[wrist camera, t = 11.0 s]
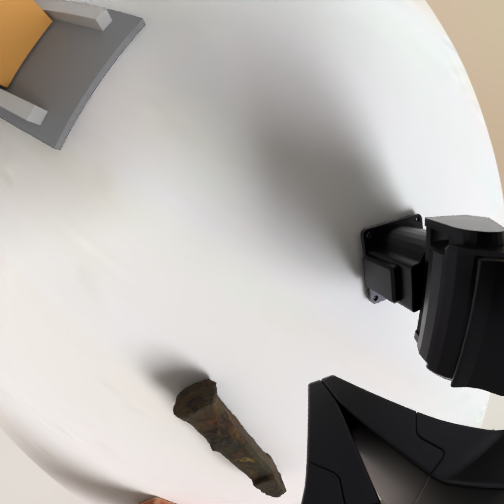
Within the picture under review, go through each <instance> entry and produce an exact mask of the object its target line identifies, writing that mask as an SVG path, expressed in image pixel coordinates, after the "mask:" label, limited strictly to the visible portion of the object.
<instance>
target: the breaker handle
mask: <svg viewBox="0 0 504 504" xmlns="http://www.w3.org/2000/svg"><path fill="white" fill-rule="evenodd" d="M52 22H53V21H52V20H51V19H50V17H49V16H48V15H47V14H46V13H45V12H44V11H43V10H42V9H41V8H40V7H39V6H38V4H37V3H36V2H35V1H34V0H0V85H2V86H4V87H6V88H8V86H9V84H10V82H11V81H12V79H13V77H14V76H15V74H16V72H17V71H18V69H19V67H20V66H21V64H22V63H23V61H24V60H25V58H26V57H27V55H28V54H29V52H30V51H31V49H32V48H33V47H34V45H35V44H36V42H37V41H38V40H39V38H40V37H41V36H42V34H43V33H44V32H45V31H46V29H47V28H48V27H49V25H50V24H51V23H52Z"/></svg>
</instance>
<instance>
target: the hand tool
mask: <svg viewBox="0 0 504 504" xmlns="http://www.w3.org/2000/svg"><path fill="white" fill-rule="evenodd" d="M173 412H174V415H176V416H177V417H178V418H180V419H182V420H184V421H187V422H188V423H189V424H191V425H193V427H195V429H196V430H197V431H198V432H199V433H200V434H201V435H203V436H204V437H205V438H206V439H207V441H208V442H209V444H210V446H211V449H212V451H217V452H220V453H221V454H222V455H224V456H225V457H226V458H227V459H228V460H229V461H230V462H231V463H233V464H234V465H235V466H236V467H237V468H238V469H240V470H241V471H242V472H244V473H245V474H246V475H247V476H248V477H249V478H250V479H252V482H253V485H254V486H255V487H256V488H257V489H260V490H261V492H263V493H265V494H266V495H270V496H272V497H280V496H281V495H282V494H284V493H285V492H286V488H285V485H284V483H283V481H282V478H281V474H280V473H279V472H278V470H277V468H276V465H275V464H274V462H273V460H272V458H271V456H270V455H269V454H265V453H264V452H263V451H262V449H261V448H260V447H259V446H258V445H257V443H256V442H255V441H254V439H253V438H252V437H251V436H250V435H249V434H248V433H247V432H246V430H245V429H244V428H243V426H242V425H241V424H240V422H239V421H238V419H237V418H236V417H235V416H234V415H233V414H232V413H231V412H230V410H228V409H227V407H226V406H225V405H224V404H223V402H222V401H221V400H220V398H219V397H218V395H217V388H216V382H214V381H212V380H209V379H207V380H204V381H202V382H199V383H195V384H193V385H191V386H189V387H187V388H186V389H184V390H182V391H181V392H180V393H179V394H178V396H177V399H176V403H175V405H174V408H173Z"/></svg>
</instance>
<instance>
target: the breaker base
mask: <svg viewBox="0 0 504 504" xmlns="http://www.w3.org/2000/svg"><path fill="white" fill-rule="evenodd" d="M34 1H35V2H36V3H37V4H38V6H39V7H40V8H41V9H42V10H43V11H44V12H45V13H46V14H47V15H48V16H49V17H50V19H51V20H52V21H53V22H52V23H51V24H50V25H49V27H48V28H47V29H46V31H45V32H44V33H43V34H42V36H41V37H40V38H39V40H38V41H37V42H36V44H35V45H34V47H33V48H32V49H31V51H30V52H29V54H28V55H27V57H26V58H25V60H24V61H23V63H22V64H21V66H20V67H19V69H18V71H17V72H16V74H15V76H14V77H13V79H12V81H11V82H10V84H9V86H8V88H6V87H4V86H2V85H0V118H2V119H4V120H6V121H7V122H9V123H11V124H13V125H14V126H16V127H18V128H19V129H21V130H23V131H25V132H26V133H28V134H30V135H32V136H33V137H35V138H37V139H38V140H40V141H42V142H44V143H45V144H47V145H49V146H51V147H52V148H54V149H58V150H60V149H61V147H62V145H63V143H64V141H65V139H66V138H67V136H68V134H69V132H70V130H71V128H72V126H73V125H74V123H75V121H76V119H77V118H78V116H79V114H80V112H81V111H82V109H83V107H84V106H85V104H86V103H87V101H88V99H89V98H90V96H91V95H92V93H93V92H94V90H95V88H96V87H97V86H98V84H99V83H100V81H101V80H102V78H103V77H104V75H105V74H106V73H107V71H108V70H109V68H110V67H111V66H112V64H113V63H114V62H115V60H116V59H117V58H118V57H119V55H120V54H121V53H122V51H123V50H124V49H125V48H126V47H127V45H128V44H129V43H130V42H131V41H132V39H133V38H134V37H135V36H136V35H137V34H138V32H139V31H140V30H141V29H142V28H143V27H144V26H145V22H144V20H143V18H140V17H136V16H133V15H129V14H125V13H122V12H118V11H113V10H109V9H106V8H103V7H98V6H93V5H87V4H82V3H75V2H69V1H61V0H34Z"/></svg>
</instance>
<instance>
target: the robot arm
mask: <svg viewBox="0 0 504 504" xmlns="http://www.w3.org/2000/svg"><path fill="white" fill-rule="evenodd" d="M416 218H417V221H416ZM425 226H426V230H425V229H423V225H422V217H421V215H419V214H412V215H409V216H405V217H402V218H399V219H395V220H392V221H389V222H385V223H382V224H379V225H375V226H372V227H368V228H365V229H363V230H362V232H361V240H362V247H363V254H364V256H363V266H364V274H365V282H366V286H367V287H368V296H369V301H370V302H372V303H374V304H375V303H378V302H381V301H383V300H385V299H388V300H389V301H391V302H393V303H397V302H398V303H399V304H401V305H403V306H404V307H406V308H408V309H409V310H411V311H412V312H416V311H418V310H420V313H419V320H418V326H417V330H416V331H415V336H414V338H415V340H416V341H417V343H418V344H417V347H418V351H419V354H420V355H421V356H422V358H423V359H424V360H425V361H426V362H427V365H426V367H427V368H428V369H429V370H430V371H431V372H433V373H434V374H436V375H438V376H440V377H442V378H444V379H447V380H452V382H451V387H471V388H479V389H482V390H486V391H489V392H491V393H494V394H497V395H500V396H504V227H502V226H501V225H499V224H498V223H496V222H495V221H493V220H492V219H490V218H487V217H478V216H470V215H456V216H440V217H426V218H425ZM367 233H369V236H368V237H367V238H366V234H367ZM374 296H376V297H375V299H373V298H374ZM376 492H377V493H378V495H379V496H380V498H381V499H382V501H383V502H384V504H504V430H486V429H480V428H474V427H469V426H464V425H459V424H454V423H450V422H446V421H442V420H439V419H436V418H433V417H430V416H427V415H424V414H422V413H419V412H417V413H416V411H414V410H411V409H409V408H406V407H404V406H401V405H399V404H397V403H394V402H392V401H389V400H387V399H385V398H382V397H380V396H378V395H376V394H373V393H371V392H369V391H366V390H364V389H362V388H360V387H358V386H355V385H353V384H351V383H349V382H347V381H345V380H343V379H340V378H338V377H336V376H334V375H331V376H328V377H326V378H323V379H322V380H321V381H320V380H318V381H315V382H312V383H310V384H309V385H308V440H307V464H306V479H305V488H304V493H303V498H302V502H301V504H381V502H380V500H379V497H378V495H377V493H376Z"/></svg>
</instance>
